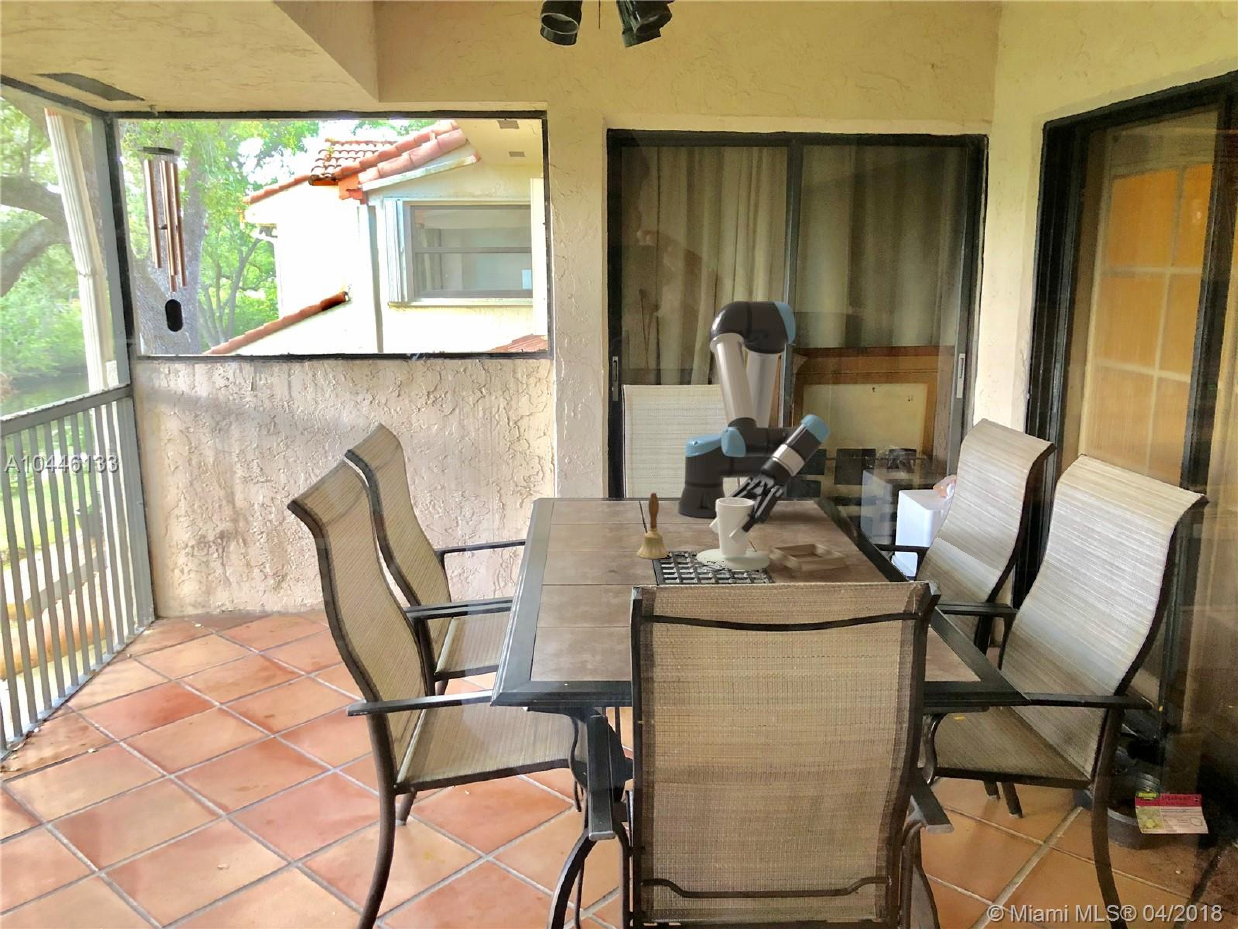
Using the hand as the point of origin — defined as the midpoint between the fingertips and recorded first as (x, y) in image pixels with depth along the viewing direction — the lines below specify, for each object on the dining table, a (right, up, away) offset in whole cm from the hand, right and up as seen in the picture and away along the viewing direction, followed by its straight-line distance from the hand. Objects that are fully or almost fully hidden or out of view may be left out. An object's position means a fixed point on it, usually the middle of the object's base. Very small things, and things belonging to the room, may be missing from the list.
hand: (722, 534), depth 222 cm
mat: (+3, -7, +2) cm, 7 cm away
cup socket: (+21, -7, +3) cm, 22 cm away
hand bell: (-17, -6, +6) cm, 19 cm away
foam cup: (+3, -5, +2) cm, 6 cm away
